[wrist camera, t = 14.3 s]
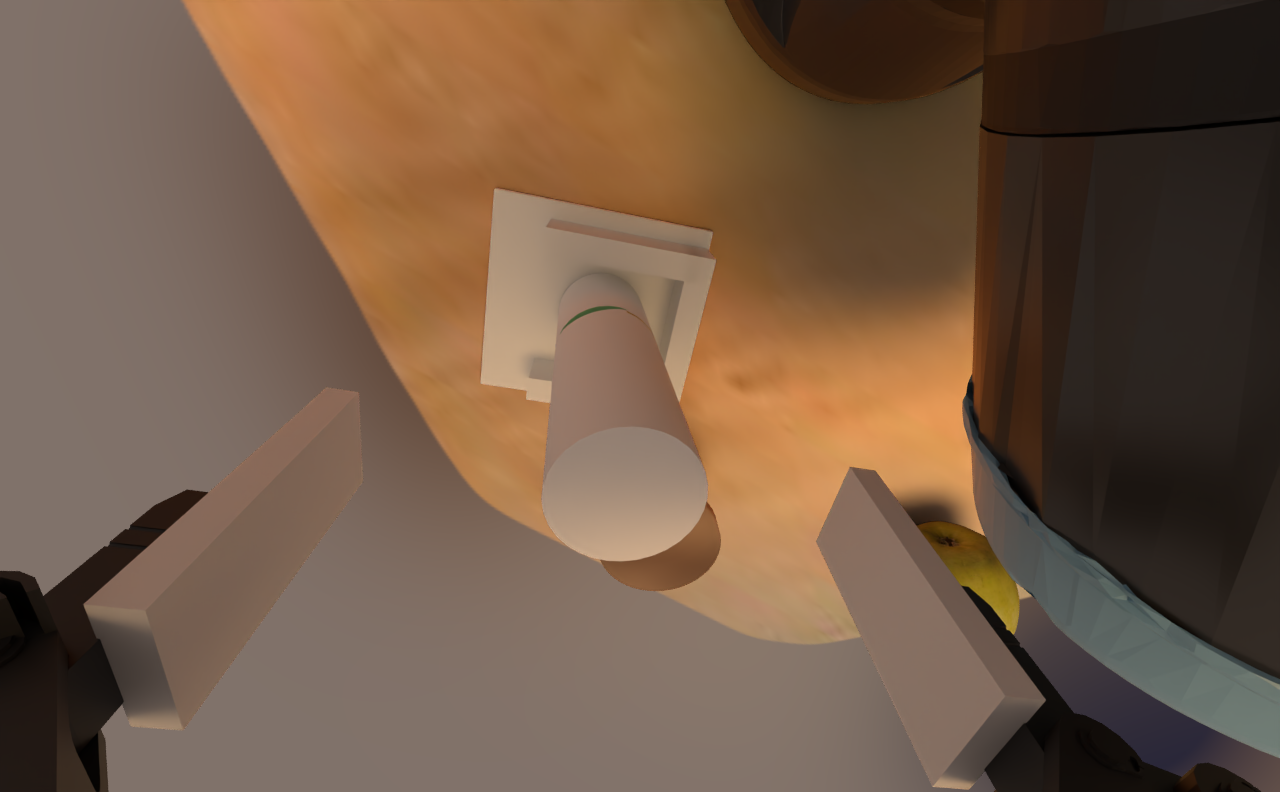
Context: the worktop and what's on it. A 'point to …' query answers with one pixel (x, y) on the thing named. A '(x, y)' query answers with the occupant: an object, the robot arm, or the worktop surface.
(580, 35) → the worktop surface
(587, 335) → the tube
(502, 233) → the notch board
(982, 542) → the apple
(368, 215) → the worktop surface
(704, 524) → the wooden cabinet knob
